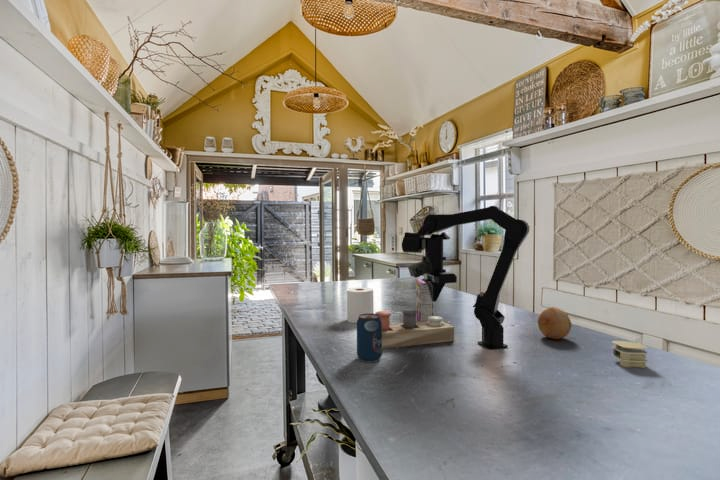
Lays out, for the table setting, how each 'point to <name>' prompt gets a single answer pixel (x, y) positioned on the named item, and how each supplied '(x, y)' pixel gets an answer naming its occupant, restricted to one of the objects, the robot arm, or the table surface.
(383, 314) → the salmon plug
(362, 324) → the soda can
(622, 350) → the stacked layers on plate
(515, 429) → the table surface
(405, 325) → the grey rounded piece
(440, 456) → the table surface
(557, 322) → the onion
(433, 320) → the white plug
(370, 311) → the toilet paper
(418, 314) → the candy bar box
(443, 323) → the socket block
